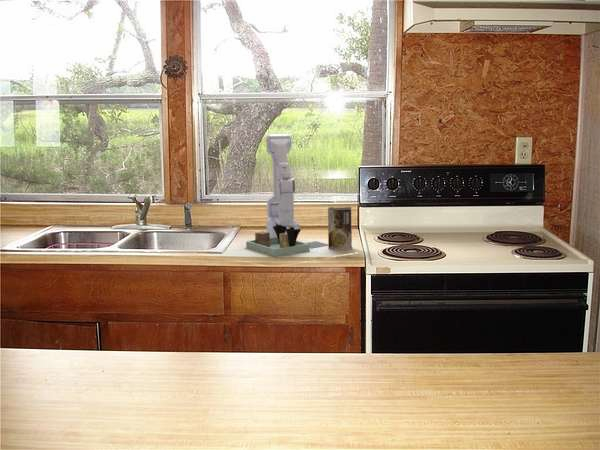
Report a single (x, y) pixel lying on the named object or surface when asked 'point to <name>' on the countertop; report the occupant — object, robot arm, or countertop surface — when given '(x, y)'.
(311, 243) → the mat
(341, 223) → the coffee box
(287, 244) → the oak block
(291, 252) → the bin
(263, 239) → the walnut block
